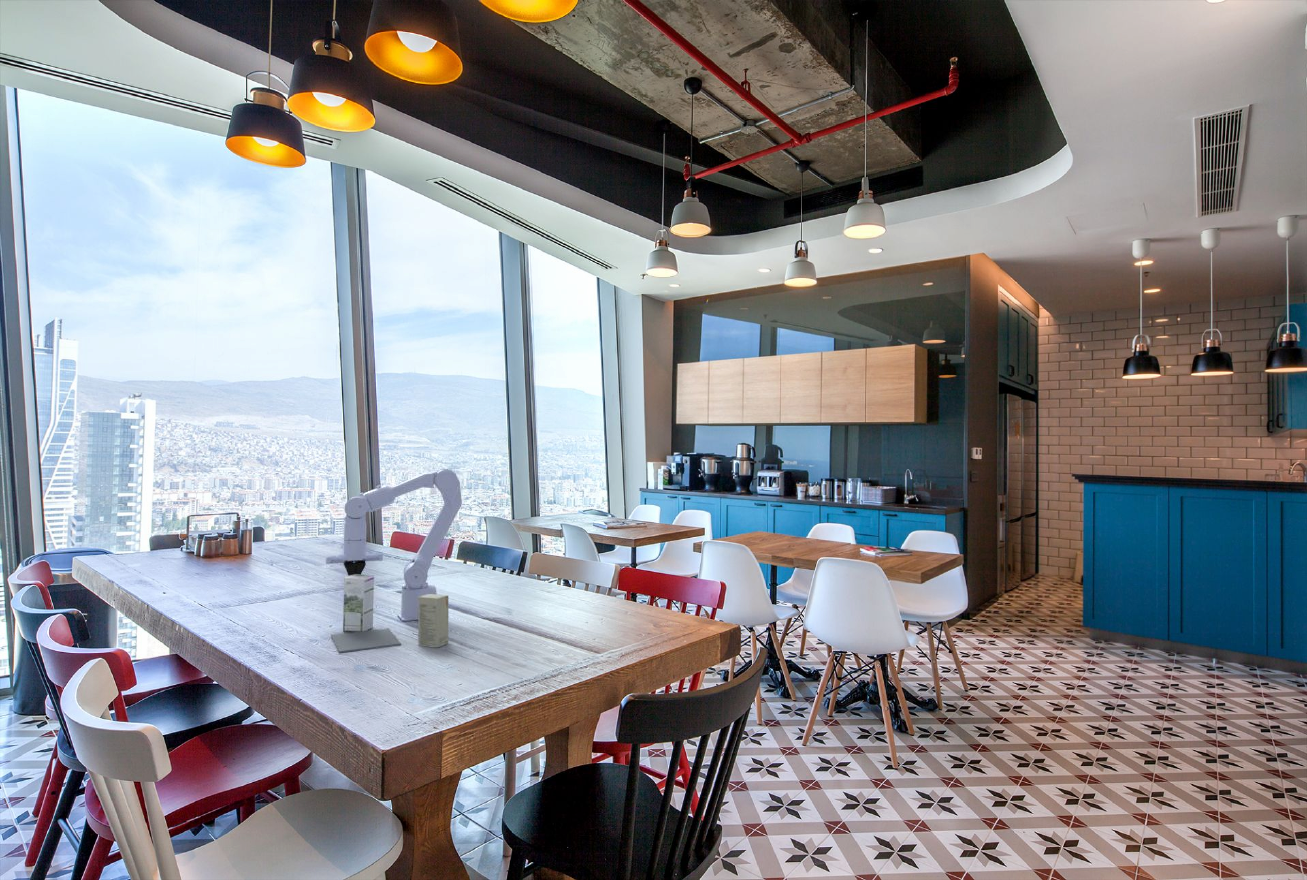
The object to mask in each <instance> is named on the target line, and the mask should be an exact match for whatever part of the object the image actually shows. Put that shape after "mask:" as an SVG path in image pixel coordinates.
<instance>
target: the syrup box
mask: <svg viewBox="0 0 1307 880" xmlns="http://www.w3.org/2000/svg"><path fill="white" fill-rule="evenodd" d="M374 591H375V575H374V574H362V573H361V574H353V575H350V576H348V575H347V576H345V577H344V578H343V610H342V611H343V613H342V615H343V616H342V619H343V620H342V631H343V632H346V633H353V632H362V631H366V630H367V631H369V630H370V628H371V629H372V628H374V594H375V592H374ZM368 629H369V630H368Z"/></svg>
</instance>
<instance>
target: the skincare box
mask: <svg viewBox="0 0 1307 880" xmlns="http://www.w3.org/2000/svg"><path fill="white" fill-rule="evenodd" d="M417 624H418V625H417V626H418V628H417V635H418V637H417V638H418V641H417V646H419V645H420V646H421V647H431V648H440V647H442V646H445V645H448V644H449V595H448V594H438V593H437V594H427V595H423V596H420V597H418V623H417Z"/></svg>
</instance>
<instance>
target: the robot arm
mask: <svg viewBox="0 0 1307 880" xmlns="http://www.w3.org/2000/svg"><path fill="white" fill-rule="evenodd" d="M434 485H435V486H434ZM434 487H436V488H437V489H438V491H439V493H440V494H441V497H442V498H441V499H442V500H443V504H442V506H441V508H440V510H439V512H438V514H437V516H436V517H435V520H434V521H433V523H432V525H431V527H430V529H429V531H428V533H427V534H426V536H425V538H424V540H423V542H422V544H421V546H420V548H419V549H418V551H417V553H416V554H415V555H414V557H413V558H412V559H411V561H410V562H408V563H406V565H405V566H404V569H403V579H404V583H403V584H402V585H401V607H400V613H397V614H396V615H397V616H398V618H399V619H400V620H401V621H402V622H407V621H417V620H418V597H420V596H423V595H427V594H438V593H437V588H436V586H435V585H433V584H431V585H429V583H428V582H427V580H428V577H429V576H428V574H429V569H430V568H431V565H432V562H433V559H434V558H435V555H436V554H437V552H438V550H439V549H440V546H441V544H442V543H443V540H444V538H446V537H445V536H447V533H448V531H449V529H450V527H452V523H453V522H454V520H455V518H456V516H457V514H458V512H459V511H460V509H461V507H462V504H463V501H462V500H463V499H462V492H461V491H462V489H461V482H460V480H459V477H458V476H457V474H456V473H455V472H454V471H452V470H451V469H448V468H440V469H439V470H436V471H435V470H433V471H430V472H425V473H422V474H420V475H417V476H415V477H413V478H410V479H408V480H406V481H404V482H402V483H398V484H397V485H394V486H388V485H386V484H384V485H381V484H379V485H376V487H375V488H374V489H371V490H370V491H367V492H360V493H359V494H358V495H359V496H353V497H351V498H349V499H348V500H347V501H346V503H345V504H344V512H345V517H344V521H345V523H344V524H343V525H344V527H343V528H344V530H343V533H344V534H343V535H344V536H343V554H339V555H329V556H328V555H327V556H325V565H331V564H343V566H344V569H345V570H346V573H347V576H350V575H353V574H362V573H363V571H364V569H365V568H366V565H367V564H366V562H376V561H377V562H378V561H379V562H383V558H384V557H383V555H384V554H383V553H381V552H379V553H375V552H374V553H372V552H371V553H367V529H368V528H367V524H368V523H367V520H366V519H367V512H370V513H373V512H375V511H378V510H381V509H382V508H385V507H387V506H391V505H393V503H394V502H395V500H396V498H398V497H400V496H404V495H405V494H408V493H411V492H414V491H416V490H420V489H422V488H429V489H435V488H434Z"/></svg>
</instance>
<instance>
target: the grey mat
mask: <svg viewBox="0 0 1307 880" xmlns="http://www.w3.org/2000/svg"><path fill="white" fill-rule="evenodd" d="M330 637H331V640H332V642H333V643H334V646H335V648H336V650H337V651H338V653H339V654H343V653H351V652H357V651H365V650H372V649H381V648H388V647H397V646H401V645H402V644H401V643H402V642H401V641H400V640H398V638H397V637H396V635H394V633H393V632H392V631H391V630H390V628H387V627H386V628H380V629H372V630H370V629H369V630H367V631H362V632H344V633H337V634H331V635H330ZM396 645H397V646H396Z"/></svg>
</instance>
